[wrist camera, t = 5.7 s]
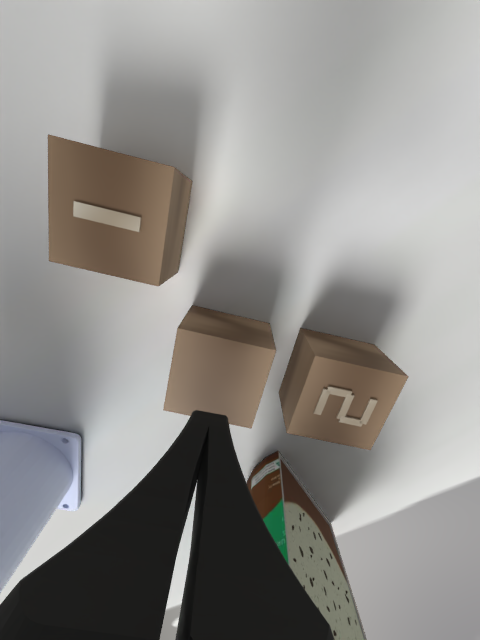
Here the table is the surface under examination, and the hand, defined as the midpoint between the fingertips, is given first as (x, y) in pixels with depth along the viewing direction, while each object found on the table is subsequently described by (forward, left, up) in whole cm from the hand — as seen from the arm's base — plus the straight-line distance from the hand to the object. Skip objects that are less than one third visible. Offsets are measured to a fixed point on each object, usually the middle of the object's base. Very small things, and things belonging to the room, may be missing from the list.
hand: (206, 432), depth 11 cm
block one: (-6, +7, -8) cm, 12 cm away
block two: (+7, 0, -8) cm, 10 cm away
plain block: (0, 0, -8) cm, 8 cm away
